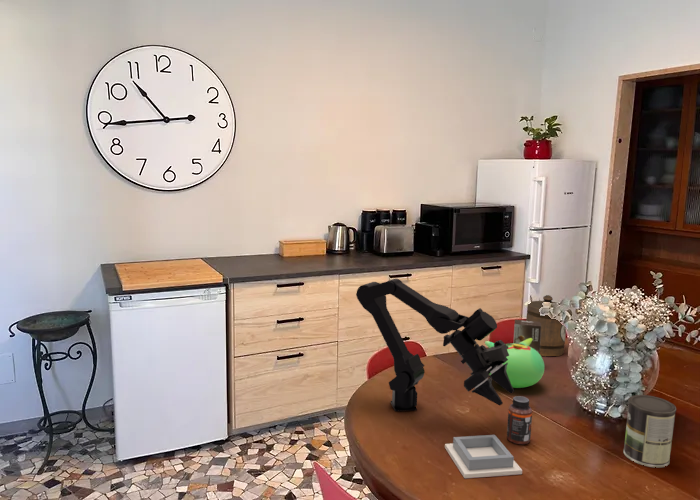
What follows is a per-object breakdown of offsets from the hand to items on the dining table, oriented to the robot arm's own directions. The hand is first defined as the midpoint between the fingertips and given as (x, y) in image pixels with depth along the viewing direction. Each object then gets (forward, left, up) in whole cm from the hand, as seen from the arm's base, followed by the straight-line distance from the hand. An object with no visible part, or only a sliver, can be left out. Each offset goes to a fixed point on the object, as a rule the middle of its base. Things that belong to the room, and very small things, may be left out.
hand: (507, 398), depth 145 cm
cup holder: (-11, -11, -10) cm, 19 cm away
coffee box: (+30, +49, -11) cm, 58 cm away
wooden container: (+45, +64, -11) cm, 78 cm away
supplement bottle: (+3, -2, -11) cm, 11 cm away
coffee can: (+31, -14, -11) cm, 36 cm away
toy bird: (+18, +33, -11) cm, 39 cm away
